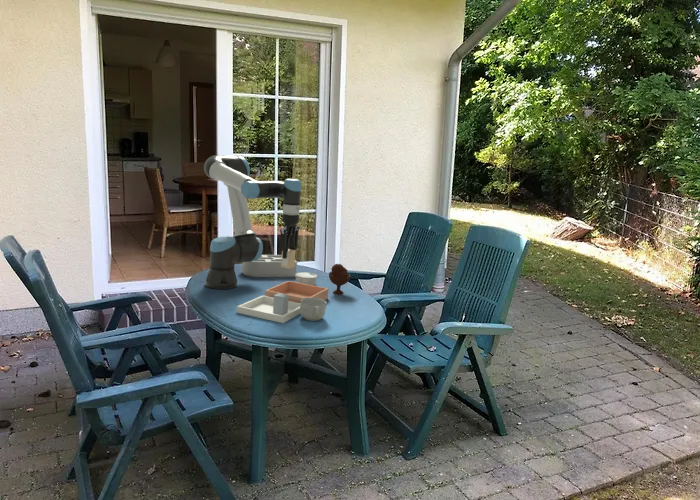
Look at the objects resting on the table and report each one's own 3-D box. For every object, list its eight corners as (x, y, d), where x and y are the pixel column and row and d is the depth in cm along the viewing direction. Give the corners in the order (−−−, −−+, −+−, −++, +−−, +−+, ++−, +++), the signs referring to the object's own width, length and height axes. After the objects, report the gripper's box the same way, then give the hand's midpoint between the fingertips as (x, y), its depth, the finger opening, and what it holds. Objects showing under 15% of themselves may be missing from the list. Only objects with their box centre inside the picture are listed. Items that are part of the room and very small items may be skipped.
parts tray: (236, 313, 225) (237, 306, 224) (262, 301, 243) (262, 295, 243) (283, 323, 217) (283, 316, 216) (305, 311, 235) (306, 304, 235)
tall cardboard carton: (280, 266, 247) (282, 249, 245) (285, 265, 250) (286, 248, 249) (290, 268, 245) (291, 251, 243) (294, 267, 249) (295, 250, 247)
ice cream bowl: (346, 297, 261) (349, 267, 258) (324, 294, 263) (326, 264, 260) (351, 292, 271) (353, 262, 268) (329, 289, 273) (331, 260, 270)
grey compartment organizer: (296, 277, 291) (297, 261, 290) (243, 277, 282) (244, 261, 281) (289, 269, 307) (290, 255, 305) (239, 269, 298) (240, 254, 296)
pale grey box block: (272, 313, 228) (274, 295, 226) (277, 311, 231) (278, 293, 230) (282, 315, 226) (284, 297, 224) (287, 313, 230) (288, 295, 228)
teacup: (299, 313, 231) (300, 296, 229) (324, 315, 232) (326, 297, 230) (299, 325, 217) (300, 305, 216) (326, 326, 218) (327, 307, 217)
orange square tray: (264, 301, 245) (265, 290, 244) (287, 290, 264) (288, 280, 263) (307, 310, 237) (307, 299, 236) (327, 298, 257) (328, 288, 256)
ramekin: (321, 285, 278) (321, 276, 277) (305, 288, 270) (305, 278, 269) (306, 280, 286) (307, 271, 285) (290, 283, 278) (291, 273, 277)
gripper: (288, 216, 234) (285, 268, 238) (307, 213, 249) (304, 262, 254) (273, 214, 237) (270, 266, 241) (293, 211, 252) (290, 259, 257)
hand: (287, 264), depth 248 cm, fingers closed on tall cardboard carton, 4 cm apart
